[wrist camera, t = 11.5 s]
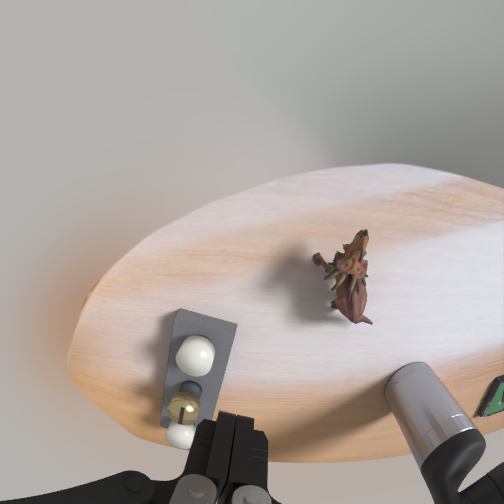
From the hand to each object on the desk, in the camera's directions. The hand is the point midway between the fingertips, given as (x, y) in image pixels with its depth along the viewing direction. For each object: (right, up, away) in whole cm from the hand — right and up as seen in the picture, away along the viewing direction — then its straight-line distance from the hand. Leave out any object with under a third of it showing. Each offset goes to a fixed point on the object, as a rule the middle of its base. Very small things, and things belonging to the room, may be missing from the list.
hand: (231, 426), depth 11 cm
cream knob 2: (-10, -20, +28) cm, 36 cm away
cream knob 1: (-6, -5, +25) cm, 26 cm away
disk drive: (+59, -24, +30) cm, 71 cm away
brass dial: (-8, -13, +24) cm, 29 cm away
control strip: (-8, -12, +30) cm, 34 cm away
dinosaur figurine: (+13, +4, +26) cm, 30 cm away
